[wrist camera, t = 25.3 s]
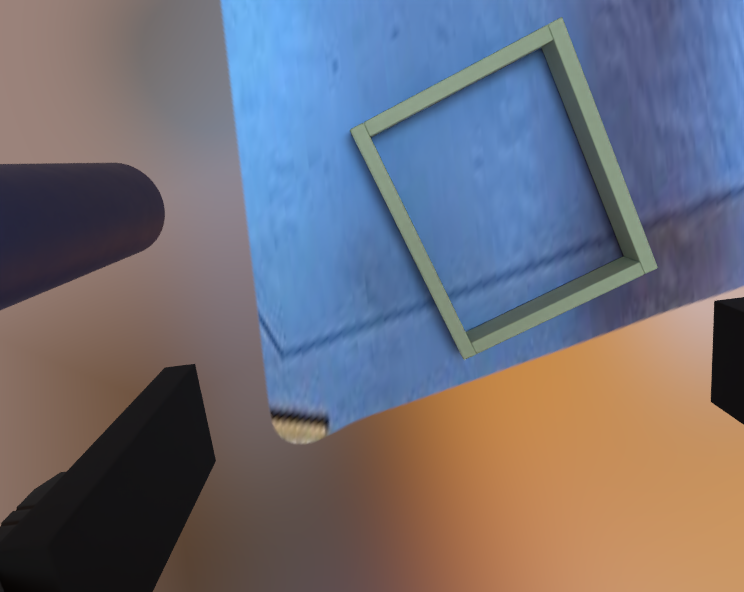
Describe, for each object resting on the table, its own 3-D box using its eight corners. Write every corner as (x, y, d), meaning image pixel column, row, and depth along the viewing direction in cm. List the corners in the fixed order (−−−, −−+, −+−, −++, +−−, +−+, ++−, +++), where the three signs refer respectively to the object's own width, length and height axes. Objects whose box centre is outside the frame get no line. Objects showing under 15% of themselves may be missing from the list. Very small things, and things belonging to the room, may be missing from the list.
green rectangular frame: (458, 348, 42) (464, 360, 39) (350, 131, 38) (349, 129, 35) (640, 261, 40) (658, 268, 38) (549, 26, 36) (562, 16, 34)
